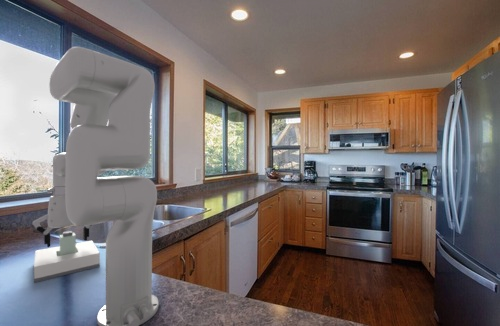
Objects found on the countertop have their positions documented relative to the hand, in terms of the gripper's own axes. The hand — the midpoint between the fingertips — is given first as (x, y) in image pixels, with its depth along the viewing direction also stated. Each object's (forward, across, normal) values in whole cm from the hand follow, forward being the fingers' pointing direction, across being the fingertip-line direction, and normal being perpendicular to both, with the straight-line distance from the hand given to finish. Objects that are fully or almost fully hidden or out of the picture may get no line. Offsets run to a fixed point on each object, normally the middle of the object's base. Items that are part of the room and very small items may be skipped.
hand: (67, 242), depth 79 cm
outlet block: (+8, 0, 0) cm, 8 cm away
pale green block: (+7, 0, 0) cm, 7 cm away
